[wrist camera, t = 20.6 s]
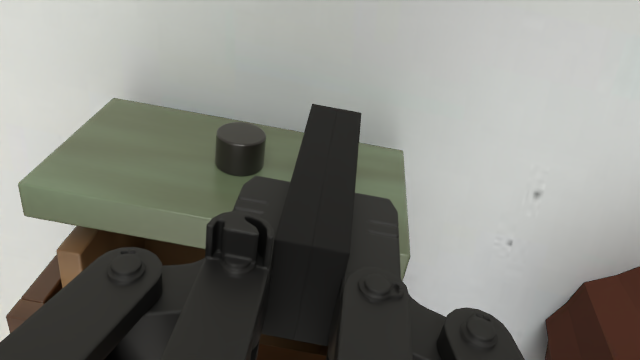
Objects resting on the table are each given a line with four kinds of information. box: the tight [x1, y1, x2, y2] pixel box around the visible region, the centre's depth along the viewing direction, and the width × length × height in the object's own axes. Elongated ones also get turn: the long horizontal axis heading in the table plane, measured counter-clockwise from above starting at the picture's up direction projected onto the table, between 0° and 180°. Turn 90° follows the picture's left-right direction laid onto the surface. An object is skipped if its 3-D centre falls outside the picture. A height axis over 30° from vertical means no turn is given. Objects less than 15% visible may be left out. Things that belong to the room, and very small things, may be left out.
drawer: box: [18, 98, 410, 356], centre depth 21 cm, size 15×11×6 cm
